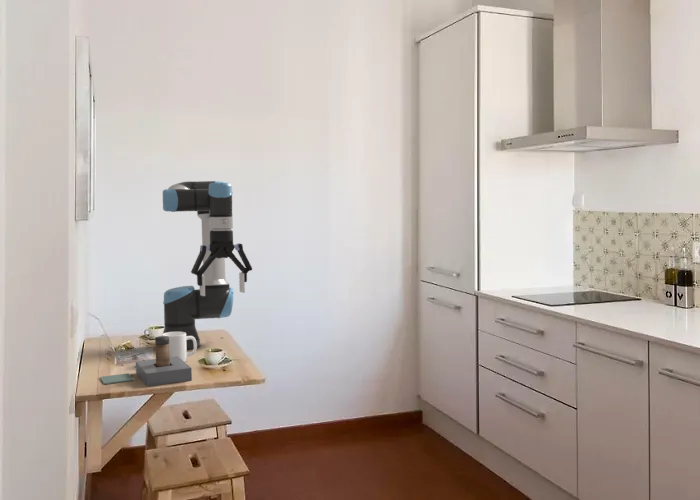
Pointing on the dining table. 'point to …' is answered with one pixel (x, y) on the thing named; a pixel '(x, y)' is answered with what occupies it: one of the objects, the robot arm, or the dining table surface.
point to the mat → (116, 378)
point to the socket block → (163, 372)
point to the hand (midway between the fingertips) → (222, 293)
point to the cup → (179, 344)
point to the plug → (162, 351)
